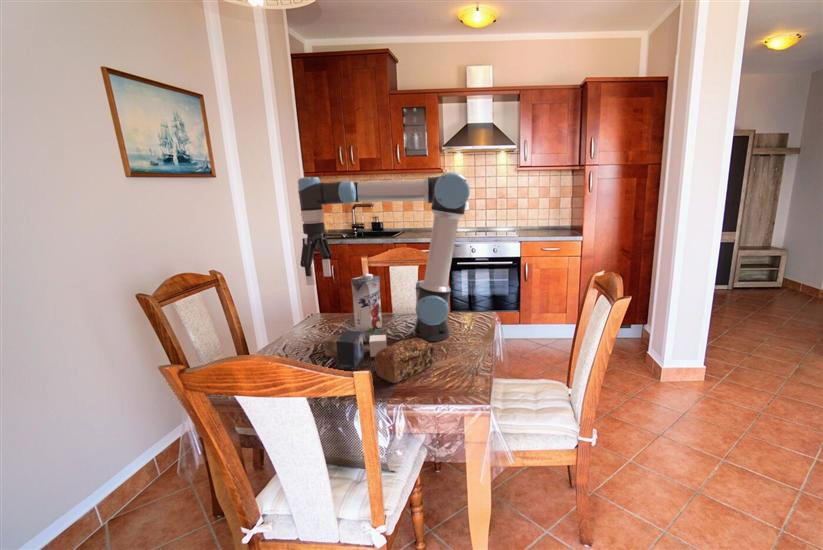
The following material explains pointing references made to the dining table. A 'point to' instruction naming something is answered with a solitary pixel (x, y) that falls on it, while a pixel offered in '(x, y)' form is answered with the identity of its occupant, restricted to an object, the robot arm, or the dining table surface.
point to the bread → (403, 359)
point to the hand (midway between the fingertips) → (319, 280)
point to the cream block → (377, 344)
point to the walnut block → (331, 345)
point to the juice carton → (367, 305)
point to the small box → (350, 350)
